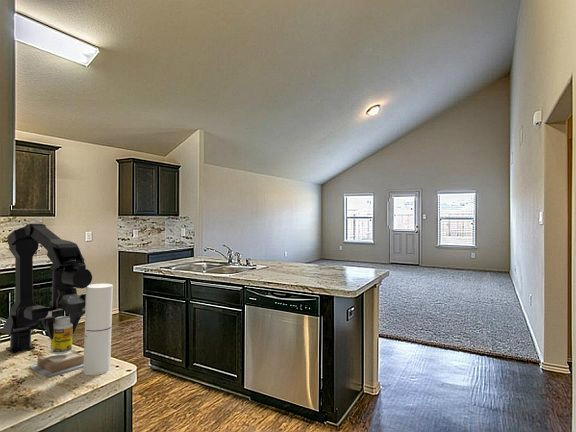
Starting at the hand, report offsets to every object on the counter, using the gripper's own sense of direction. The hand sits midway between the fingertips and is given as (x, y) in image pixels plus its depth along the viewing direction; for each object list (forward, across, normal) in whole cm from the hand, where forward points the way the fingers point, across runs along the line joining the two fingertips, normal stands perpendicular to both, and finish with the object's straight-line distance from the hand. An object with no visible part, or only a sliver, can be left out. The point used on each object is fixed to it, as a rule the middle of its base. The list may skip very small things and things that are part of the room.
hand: (61, 336), depth 115 cm
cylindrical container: (+9, +5, -11) cm, 15 cm away
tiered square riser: (+9, 0, 0) cm, 9 cm away
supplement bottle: (+5, 0, 0) cm, 5 cm away
